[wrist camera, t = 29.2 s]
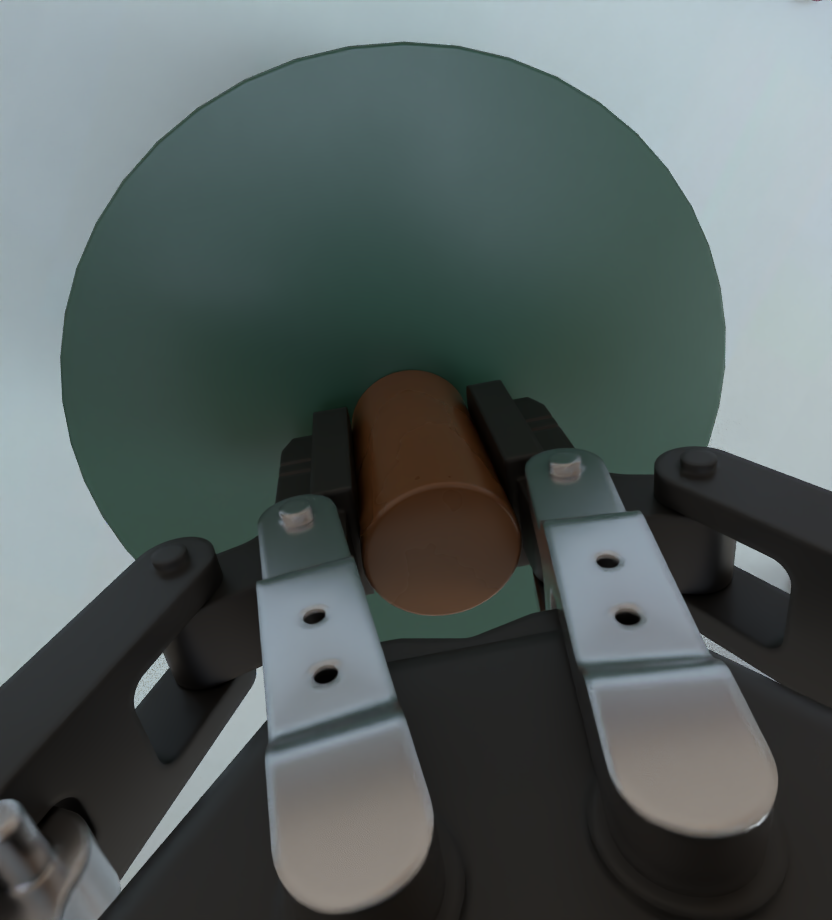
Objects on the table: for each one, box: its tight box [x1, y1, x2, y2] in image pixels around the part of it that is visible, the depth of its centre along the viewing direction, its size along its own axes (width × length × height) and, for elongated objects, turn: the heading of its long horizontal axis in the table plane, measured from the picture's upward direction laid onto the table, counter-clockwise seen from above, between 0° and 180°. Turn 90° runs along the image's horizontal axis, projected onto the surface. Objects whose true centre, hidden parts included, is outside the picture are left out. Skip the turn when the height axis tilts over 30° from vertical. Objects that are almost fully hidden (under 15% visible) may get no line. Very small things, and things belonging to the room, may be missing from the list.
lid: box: [60, 42, 726, 642], centre depth 14 cm, size 15×15×6 cm
